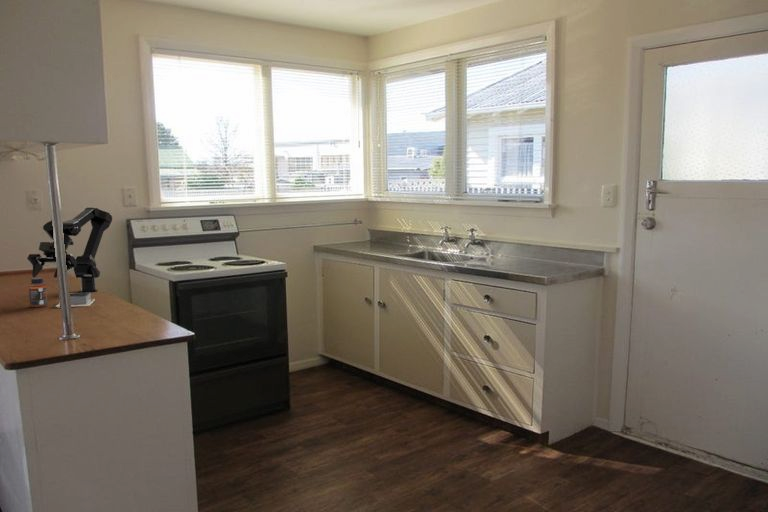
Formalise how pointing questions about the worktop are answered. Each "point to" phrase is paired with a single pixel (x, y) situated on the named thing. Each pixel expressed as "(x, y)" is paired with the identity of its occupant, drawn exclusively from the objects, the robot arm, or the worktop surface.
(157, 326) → the worktop surface
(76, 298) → the square collar
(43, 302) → the supplement bottle
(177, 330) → the worktop surface
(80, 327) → the worktop surface
